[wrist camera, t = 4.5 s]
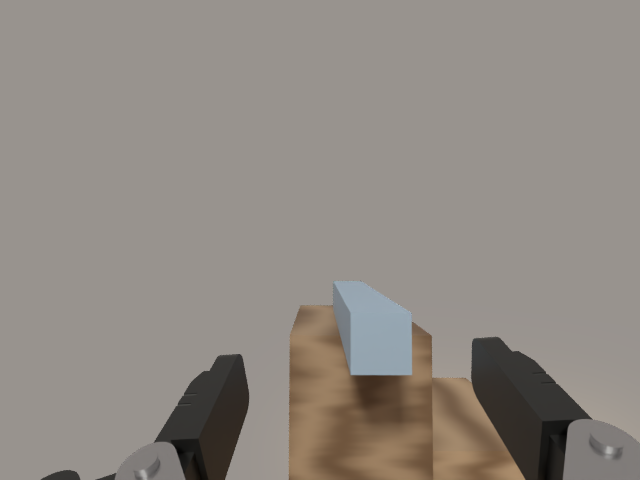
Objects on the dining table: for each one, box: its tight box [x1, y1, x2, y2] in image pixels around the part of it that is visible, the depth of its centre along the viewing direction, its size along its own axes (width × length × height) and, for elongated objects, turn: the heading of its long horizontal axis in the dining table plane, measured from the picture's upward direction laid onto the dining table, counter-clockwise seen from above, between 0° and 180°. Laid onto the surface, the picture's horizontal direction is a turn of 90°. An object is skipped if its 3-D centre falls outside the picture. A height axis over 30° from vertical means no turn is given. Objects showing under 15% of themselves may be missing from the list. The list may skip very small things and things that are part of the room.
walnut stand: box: [289, 305, 525, 480], centre depth 35 cm, size 22×16×32 cm
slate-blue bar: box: [333, 281, 412, 375], centre depth 29 cm, size 4×22×4 cm, turn 0°
